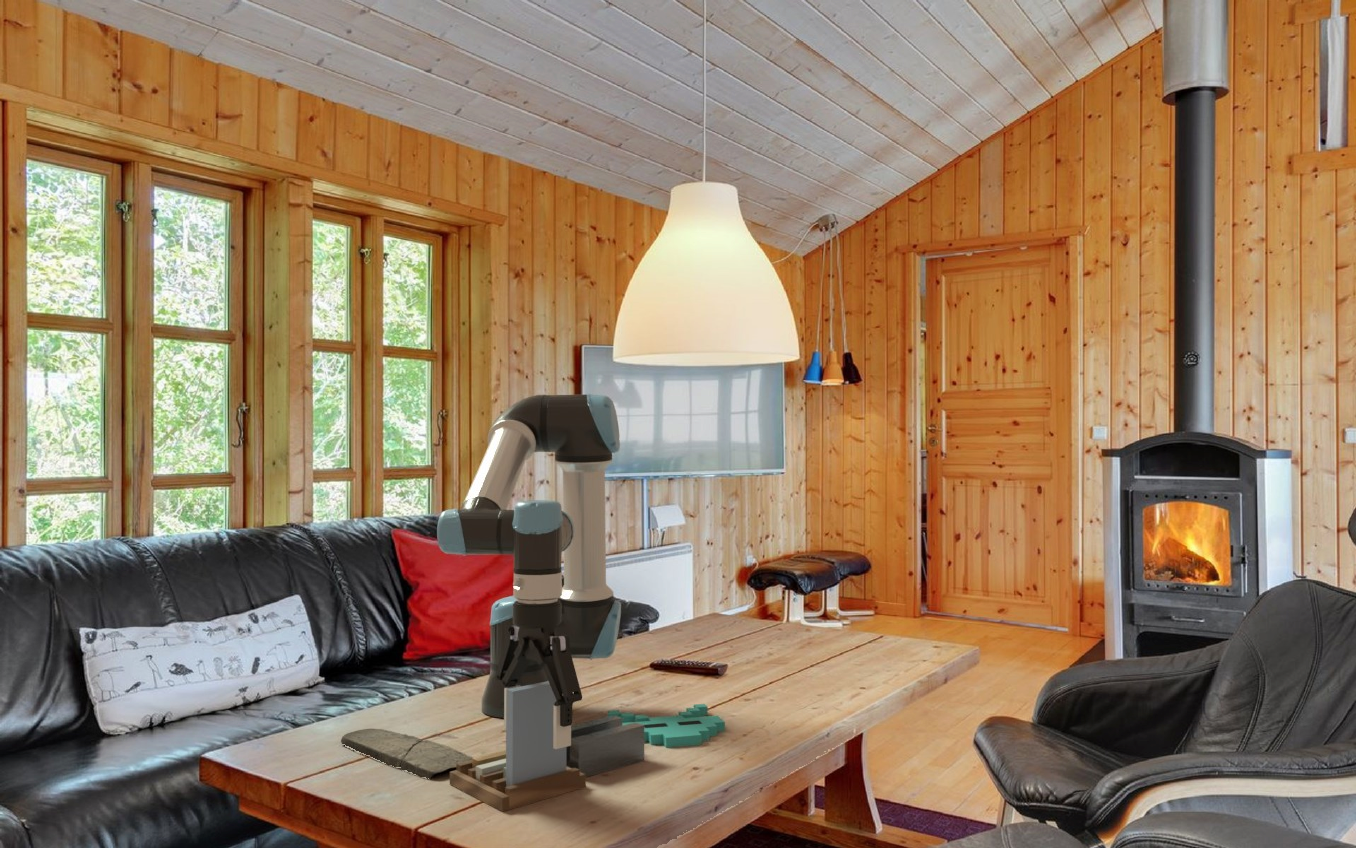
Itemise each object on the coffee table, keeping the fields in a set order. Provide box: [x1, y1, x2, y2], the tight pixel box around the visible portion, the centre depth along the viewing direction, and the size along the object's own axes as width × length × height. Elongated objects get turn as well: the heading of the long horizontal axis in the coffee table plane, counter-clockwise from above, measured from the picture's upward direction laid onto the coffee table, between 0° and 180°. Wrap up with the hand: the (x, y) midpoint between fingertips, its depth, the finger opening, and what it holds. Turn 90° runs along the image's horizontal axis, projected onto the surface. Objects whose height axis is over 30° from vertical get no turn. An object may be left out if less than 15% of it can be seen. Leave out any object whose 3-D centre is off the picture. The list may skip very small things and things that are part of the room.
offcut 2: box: [476, 759, 506, 781], centre depth 155 cm, size 2×11×4 cm, turn 132°
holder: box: [566, 715, 645, 778], centre depth 165 cm, size 8×14×6 cm, turn 132°
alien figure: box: [607, 703, 726, 749], centre depth 184 cm, size 20×2×20 cm
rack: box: [449, 760, 587, 812], centre depth 154 cm, size 16×15×3 cm
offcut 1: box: [472, 749, 506, 768], centre depth 158 cm, size 2×9×4 cm, turn 132°
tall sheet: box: [505, 681, 566, 787], centre depth 150 cm, size 2×10×17 cm, turn 133°
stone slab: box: [340, 728, 474, 780], centre depth 169 cm, size 10×3×30 cm
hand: (536, 737), depth 150 cm, fingers open, 13 cm apart
